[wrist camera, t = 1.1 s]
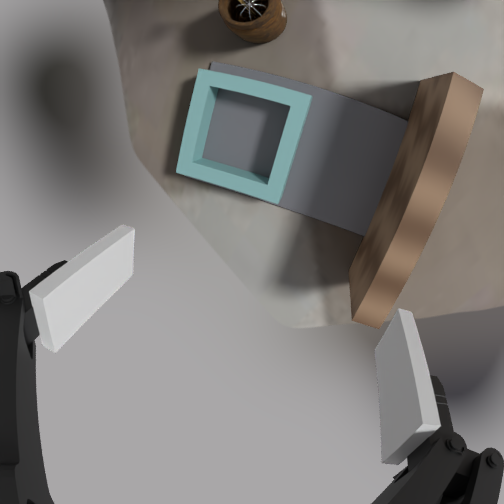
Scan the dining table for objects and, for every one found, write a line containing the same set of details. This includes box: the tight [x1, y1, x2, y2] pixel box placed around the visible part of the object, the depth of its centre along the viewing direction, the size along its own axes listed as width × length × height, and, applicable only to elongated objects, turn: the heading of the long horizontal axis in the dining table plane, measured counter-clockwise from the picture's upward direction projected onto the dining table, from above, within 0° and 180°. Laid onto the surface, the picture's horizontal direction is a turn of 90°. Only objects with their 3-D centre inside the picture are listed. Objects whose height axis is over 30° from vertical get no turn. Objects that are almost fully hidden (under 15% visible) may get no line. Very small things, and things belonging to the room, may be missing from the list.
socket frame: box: [176, 69, 313, 204], centre depth 32 cm, size 12×12×3 cm
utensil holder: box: [218, 0, 287, 43], centre depth 23 cm, size 6×6×12 cm
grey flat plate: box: [185, 62, 409, 236], centre depth 33 cm, size 14×22×1 cm, turn 75°
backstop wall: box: [348, 72, 484, 329], centre depth 28 cm, size 24×3×10 cm, turn 165°
